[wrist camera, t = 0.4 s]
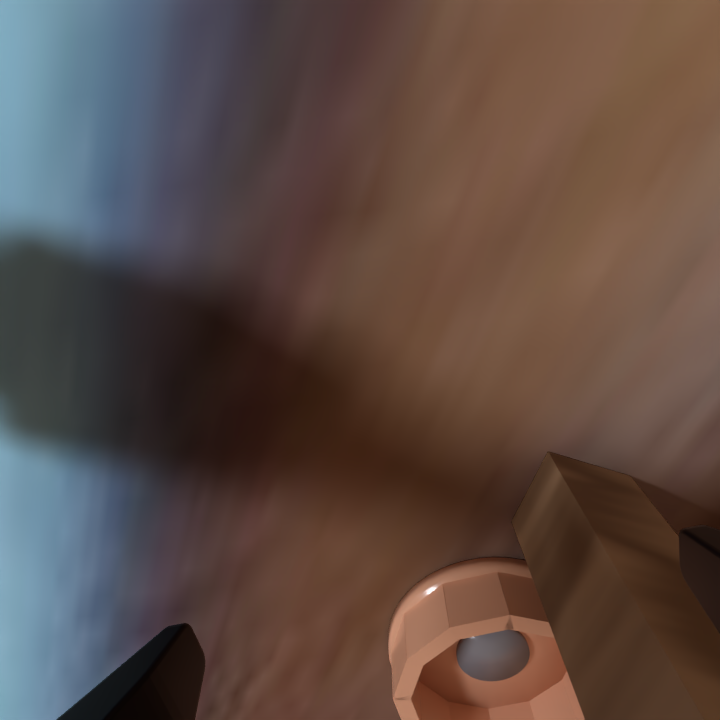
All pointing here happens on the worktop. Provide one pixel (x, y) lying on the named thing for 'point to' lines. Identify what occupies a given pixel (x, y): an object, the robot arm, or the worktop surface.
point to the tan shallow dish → (478, 648)
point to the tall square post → (617, 596)
